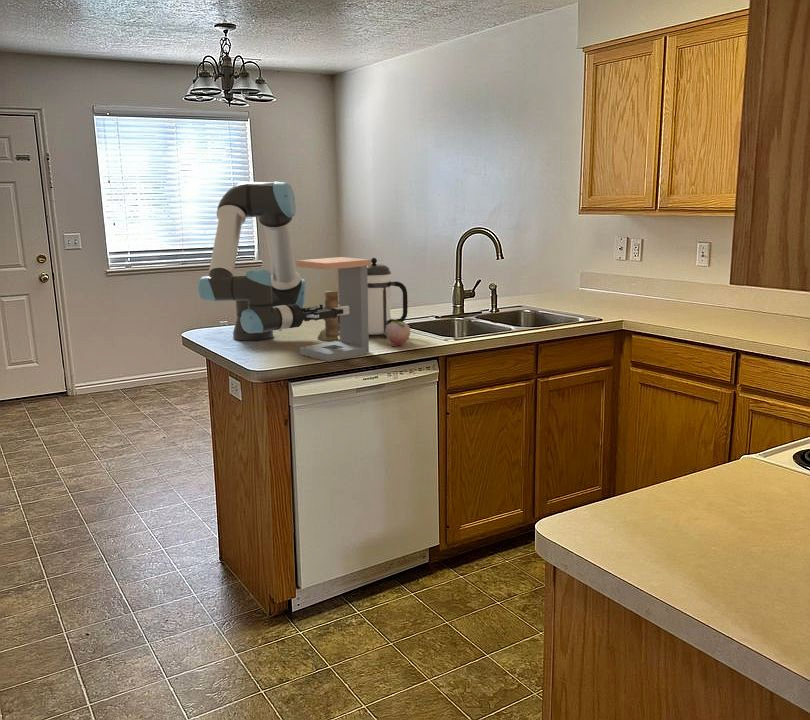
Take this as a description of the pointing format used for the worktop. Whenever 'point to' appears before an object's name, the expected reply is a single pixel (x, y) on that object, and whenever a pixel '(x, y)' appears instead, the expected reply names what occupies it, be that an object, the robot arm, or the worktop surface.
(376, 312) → the coffee press
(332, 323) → the peg
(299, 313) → the robot arm
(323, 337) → the chocolate bunny
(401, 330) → the decorative fruit
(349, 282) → the socket
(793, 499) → the worktop surface
